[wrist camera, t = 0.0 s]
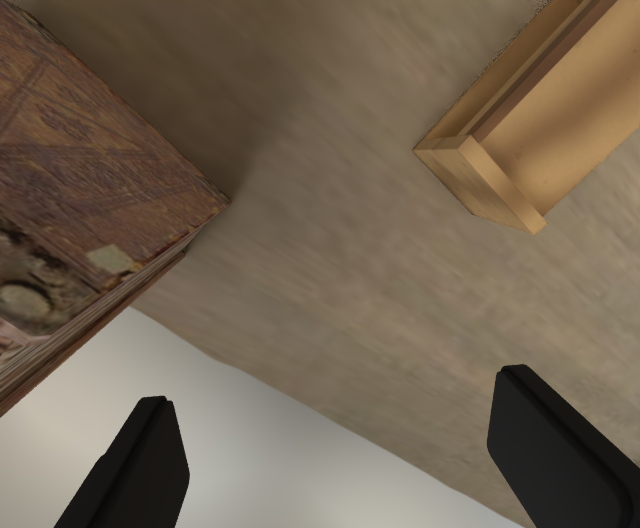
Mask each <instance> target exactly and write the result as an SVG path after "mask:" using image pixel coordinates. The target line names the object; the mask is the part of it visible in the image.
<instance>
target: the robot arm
mask: <svg viewBox="0 0 640 528" xmlns="http://www.w3.org/2000/svg"><path fill="white" fill-rule="evenodd" d="M487 448H488V451H489V454H490V456H491V457H492V459H493V461H494V462H495V464H496V465H497V467H498V468H499V470H500V471H501V473H502V475H503V476H504V478H505V479H506V481H507V482H508V484H509V485H510V487H511V489H512V490H513V492H514V493H515V495H516V496H517V498H518V499H519V501H520V503H521V504H522V506H523V507H524V509H525V510H526V512H527V513H528V515H529V517H530V518H531V520H532V521H533V523H534V524H535V526H536V527H537V528H640V468H639V467H638V466H637V465H636V464H634V463H633V462H632V461H631V460H630V459H629V458H628V457H627V456H626V455H625V454H623V453H622V452H621V451H620V450H619V449H618V448H617V447H616V446H615V445H614V444H613V443H611V442H610V441H609V440H608V439H607V438H606V437H605V436H604V435H603V434H602V433H601V432H599V431H598V430H597V429H596V428H595V427H594V426H593V425H592V424H591V423H590V422H589V421H587V420H586V419H585V418H584V417H583V416H582V415H581V414H580V413H579V412H578V411H576V410H575V409H574V408H573V407H572V406H571V405H570V404H569V403H568V402H567V401H566V400H564V399H563V398H562V397H561V396H560V395H559V394H558V393H557V392H556V391H555V390H554V389H552V388H551V387H550V386H549V385H548V384H547V383H546V382H545V381H544V380H543V379H542V378H540V377H539V376H538V375H537V374H536V373H535V372H534V371H533V370H532V369H531V368H529V367H528V366H527V365H524V364H520V365H508V366H503V367H502V369H501V371H500V372H498V373H497V375H496V380H495V387H494V394H493V402H492V409H491V416H490V423H489V430H488V437H487ZM189 478H190V473H189V468H188V463H187V459H186V455H185V451H184V446H183V442H182V438H181V434H180V430H179V425H178V422H177V417H176V413H175V409H174V405H173V402H172V401H167V399H166V397H165V396H153V397H143V398H141V399H140V400H139V401H138V403H137V405H136V406H135V408H134V409H133V411H132V412H131V414H130V415H129V417H128V419H127V420H126V422H125V423H124V425H123V426H122V428H121V429H120V431H119V433H118V434H117V436H116V437H115V439H114V440H113V442H112V444H111V445H110V447H109V448H108V450H107V452H106V453H105V454H104V455H103V456H101V457H100V458H99V460H98V461H97V462H96V463H95V465H94V467H93V468H92V470H91V471H90V473H89V474H88V476H87V477H86V479H85V480H84V482H83V483H82V485H81V487H80V488H79V490H78V491H77V493H76V494H75V496H74V497H73V499H72V500H71V502H70V503H69V505H68V506H67V508H66V509H65V511H64V513H63V514H62V515H61V517H60V519H59V520H58V522H57V523H56V525H55V526H54V528H175V525H176V522H177V519H178V516H179V513H180V509H181V507H182V504H183V501H184V498H185V495H186V492H187V488H188V485H189Z"/></svg>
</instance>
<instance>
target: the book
mask: <svg viewBox="0 0 640 528" xmlns="http://www.w3.org/2000/svg"><path fill="white" fill-rule="evenodd" d="M231 203H232V201H231V200H230V199H229V197H227V196H226V195H225V194H224V193H223V192H222V191H221V190H220V189H219V188H218V187H217V186H216V185H214V184H213V183H212V182H211V181H210V180H209V179H208V178H207V177H206V176H205V175H204V174H203V173H201V172H200V171H199V170H198V169H197V168H196V167H195V166H194V165H193V164H192V163H191V162H190V161H189V160H187V159H186V158H185V157H184V156H183V155H182V154H181V153H180V152H179V151H178V150H177V149H176V148H174V147H173V146H172V145H171V144H170V143H169V142H168V141H167V140H166V139H165V138H164V137H163V136H162V135H160V134H159V133H158V132H157V131H156V130H155V129H154V128H153V127H152V126H151V125H150V124H149V123H147V122H146V121H145V120H144V119H143V118H142V117H141V116H140V115H139V114H138V113H137V112H136V111H135V110H133V109H132V108H131V107H130V106H129V105H128V104H127V103H126V102H125V101H124V100H123V99H122V98H120V97H119V96H118V95H117V94H116V93H115V92H114V91H113V90H112V89H111V88H110V87H109V86H108V85H106V84H105V83H104V82H103V81H102V80H101V79H100V78H99V77H98V76H97V75H96V74H95V73H93V72H92V71H91V70H90V69H89V68H88V67H87V66H86V65H85V64H84V63H83V62H82V61H81V60H79V59H78V58H77V57H76V56H75V55H74V54H73V53H72V52H71V51H70V50H69V49H68V48H66V47H65V46H64V45H63V44H62V43H61V42H60V41H59V40H58V39H57V38H56V37H55V36H53V35H52V34H51V33H50V32H49V31H48V30H47V29H46V28H45V27H44V26H43V25H42V24H41V23H39V22H38V21H37V20H36V19H35V18H34V17H33V16H32V15H31V14H29V13H28V12H26V11H25V10H23V9H21V8H19V7H17V6H15V5H13V4H11V3H9V2H8V1H6V0H0V418H1V417H2V416H3V415H4V414H5V413H6V412H7V411H8V410H10V409H11V408H12V407H13V406H14V405H15V404H17V403H18V402H19V401H20V400H21V399H22V398H23V397H25V396H26V395H27V394H28V393H29V392H30V391H32V390H33V389H34V388H35V387H36V386H37V385H38V384H40V383H41V382H42V381H43V380H44V379H45V378H46V377H48V376H49V375H50V374H51V373H52V372H53V371H54V370H56V369H57V368H58V367H59V366H60V365H61V364H62V363H64V362H65V361H66V360H67V359H68V358H69V357H70V356H72V355H73V354H74V353H75V352H76V351H77V350H78V349H80V348H81V347H82V346H83V345H84V344H85V343H86V342H88V341H89V340H90V339H91V338H92V337H93V336H95V335H96V334H97V333H98V332H99V331H100V330H101V329H103V328H104V327H105V326H106V325H107V324H108V323H109V322H110V321H112V320H113V319H114V318H115V317H116V316H117V315H119V314H120V313H121V312H122V311H123V310H124V309H125V308H127V307H128V306H129V305H130V304H131V303H132V302H133V301H135V300H136V299H137V298H138V297H139V296H140V295H141V294H143V293H144V292H145V291H146V290H147V289H148V288H150V287H151V286H152V285H153V284H154V283H155V282H156V281H158V280H159V279H160V278H161V277H162V276H163V275H164V274H166V273H167V272H168V271H169V270H170V269H171V268H172V267H174V266H175V265H176V264H177V263H178V262H179V261H180V260H182V259H183V258H184V257H185V254H184V253H183V252H182V250H183V249H184V248H185V247H186V245H187V244H188V243H189V242H190V241H191V240H192V239H193V238H194V237H195V236H196V235H197V234H198V233H199V232H200V230H201V229H202V228H203V227H204V226H205V225H206V224H207V223H208V222H209V221H210V220H211V219H212V218H213V217H215V216H216V215H217V214H219V213H220V212H221V211H223V210H224V209H225V208H227V207H228V206H229V205H230V204H231Z"/></svg>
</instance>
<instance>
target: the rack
mask: <svg viewBox="0 0 640 528" xmlns="http://www.w3.org/2000/svg"><path fill="white" fill-rule="evenodd" d="M639 126H640V0H550V1H549V2H548V3H547V4H546V5H545V6H544V7H543V8H542V10H541V11H540V12H539V13H538V14H537V15H536V16H535V17H534V18H533V19H532V20H531V22H530V23H529V24H528V25H527V26H526V27H525V28H524V29H523V30H522V31H521V32H520V33H519V35H518V36H517V37H516V38H515V39H514V40H513V41H512V42H511V43H510V44H509V45H508V47H507V48H506V49H505V50H504V51H503V52H502V53H501V54H500V55H499V56H498V57H497V59H496V60H495V61H494V62H493V63H492V64H491V65H490V66H489V67H488V68H487V69H486V70H485V72H484V73H483V74H482V75H481V76H480V77H479V78H478V79H477V80H476V81H475V82H474V84H473V85H472V86H471V87H470V88H469V89H468V90H467V91H466V92H465V93H464V94H463V96H462V97H461V98H460V99H459V100H458V101H457V102H456V103H455V104H454V105H453V106H452V108H451V109H450V110H449V111H448V112H447V113H446V114H445V115H444V116H443V117H442V118H441V119H440V121H439V122H438V123H437V124H436V125H435V126H434V127H433V128H432V129H431V130H430V131H429V133H428V134H427V135H426V136H425V137H424V138H423V139H422V140H421V141H420V142H419V143H418V144H417V146H416V147H415V148H414V149H413V150H412V151H413V152H414V153H415V154H416V155H417V157H418V158H419V159H420V160H421V161H422V162H423V163H424V164H425V165H426V166H427V167H428V168H429V169H430V170H431V171H432V172H433V173H434V175H435V176H436V177H437V178H438V179H439V180H440V181H441V182H442V183H443V184H444V185H445V186H446V187H447V188H448V189H449V190H450V191H451V193H452V194H453V195H454V196H455V197H456V198H457V199H458V200H459V201H460V202H461V203H462V204H463V205H464V206H465V207H466V208H467V209H468V210H469V212H470V213H471V214H473V215H476V216H479V217H482V218H485V219H488V220H491V221H494V222H497V223H499V224H502V225H505V226H508V227H511V228H514V229H517V230H520V231H523V232H526V233H529V234H532V235H536V234H537V233H538V232H539V231H540V230H541V229H542V228H543V227H544V226H545V225H546V224H547V222H546V221H545V220H544V218H543V216H544V215H545V214H546V213H547V212H548V211H549V210H550V209H551V208H553V207H554V206H555V205H556V204H557V203H558V202H559V201H560V200H561V199H562V198H563V197H564V196H565V195H566V194H568V193H569V192H570V191H571V190H572V189H573V188H574V187H575V186H576V185H577V184H578V183H579V182H580V181H581V180H582V179H584V178H585V177H586V176H587V175H588V174H589V173H590V172H591V171H592V170H593V169H594V168H595V167H596V166H597V165H598V164H600V163H601V162H602V161H603V160H604V159H605V158H606V157H607V156H608V155H609V154H610V153H611V152H612V151H613V150H614V149H616V148H617V147H618V146H619V145H620V144H621V143H622V142H623V141H624V140H625V139H626V138H627V137H628V136H629V135H631V134H632V133H633V132H634V131H635V130H636V129H637V128H638V127H639Z"/></svg>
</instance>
